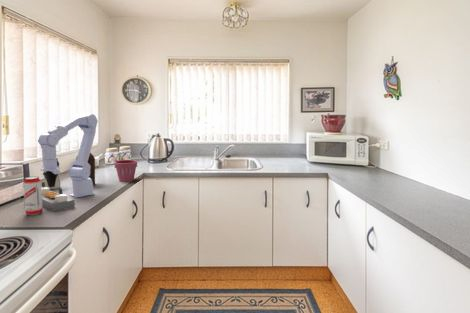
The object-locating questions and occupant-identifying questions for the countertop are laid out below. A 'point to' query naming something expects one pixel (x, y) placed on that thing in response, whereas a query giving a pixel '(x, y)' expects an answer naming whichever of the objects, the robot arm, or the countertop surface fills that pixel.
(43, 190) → the left plug
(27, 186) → the beer can
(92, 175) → the olive oil
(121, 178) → the plant pot
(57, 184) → the travel mug
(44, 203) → the power strip
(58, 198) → the right plug
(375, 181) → the countertop surface
